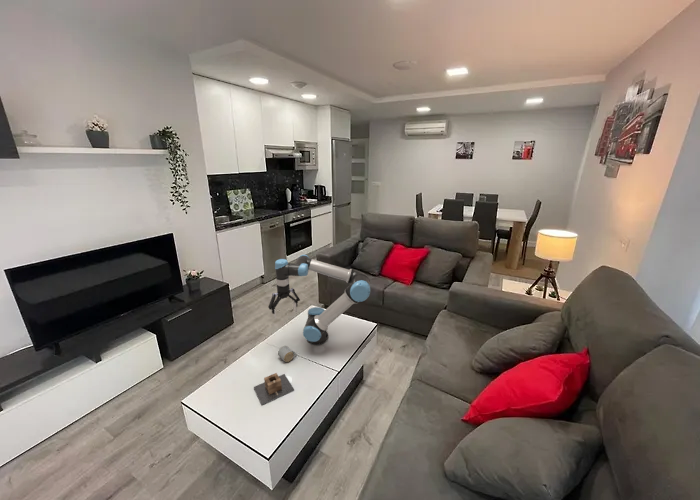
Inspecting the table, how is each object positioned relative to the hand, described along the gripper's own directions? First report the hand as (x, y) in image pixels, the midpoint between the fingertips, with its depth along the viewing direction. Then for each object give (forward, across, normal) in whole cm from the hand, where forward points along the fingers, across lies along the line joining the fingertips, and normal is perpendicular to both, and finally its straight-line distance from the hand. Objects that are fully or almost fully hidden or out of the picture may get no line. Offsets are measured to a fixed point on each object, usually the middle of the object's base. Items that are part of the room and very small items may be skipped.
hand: (285, 314), depth 184 cm
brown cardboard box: (+26, +20, +28) cm, 43 cm away
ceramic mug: (+27, +3, +7) cm, 28 cm away
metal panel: (+27, +20, +28) cm, 43 cm away
